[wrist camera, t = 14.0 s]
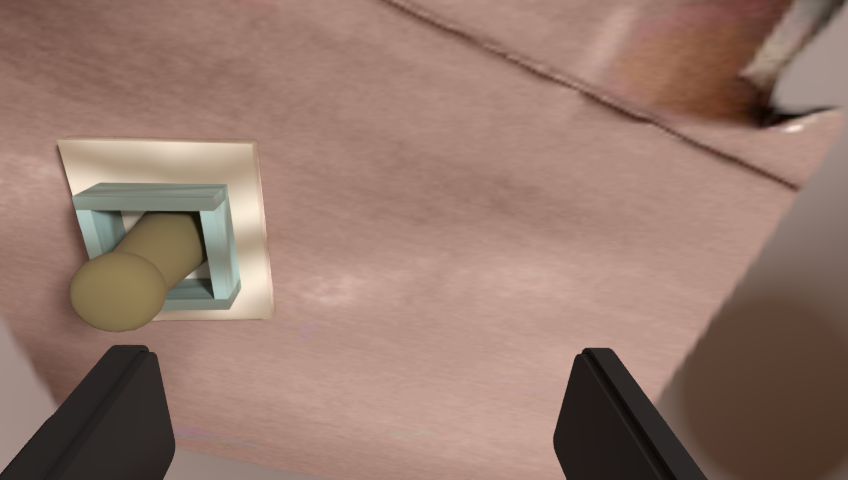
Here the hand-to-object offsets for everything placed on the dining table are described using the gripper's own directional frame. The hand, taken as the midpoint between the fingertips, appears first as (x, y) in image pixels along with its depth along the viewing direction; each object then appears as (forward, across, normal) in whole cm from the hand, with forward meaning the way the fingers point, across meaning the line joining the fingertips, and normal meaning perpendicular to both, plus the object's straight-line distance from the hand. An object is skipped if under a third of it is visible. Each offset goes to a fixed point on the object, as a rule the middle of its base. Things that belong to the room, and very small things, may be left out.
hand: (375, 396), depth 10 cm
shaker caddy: (+29, +16, +9) cm, 35 cm away
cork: (+28, +16, +9) cm, 33 cm away
